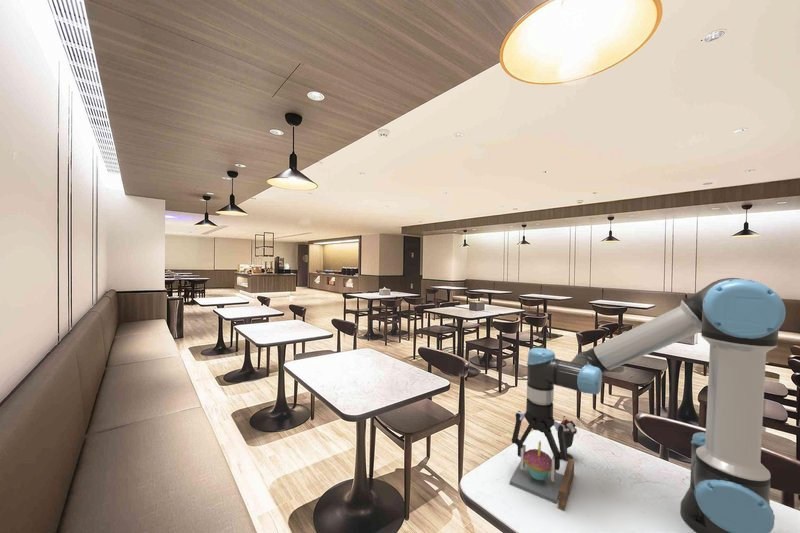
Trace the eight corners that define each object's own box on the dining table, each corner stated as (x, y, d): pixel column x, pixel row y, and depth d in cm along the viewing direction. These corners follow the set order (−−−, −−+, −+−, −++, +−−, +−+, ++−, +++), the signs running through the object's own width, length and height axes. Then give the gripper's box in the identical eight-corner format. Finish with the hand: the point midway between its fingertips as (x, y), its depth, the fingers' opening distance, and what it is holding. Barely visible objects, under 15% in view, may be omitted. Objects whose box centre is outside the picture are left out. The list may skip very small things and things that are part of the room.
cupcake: (556, 486, 94) (557, 446, 94) (525, 482, 96) (526, 442, 95) (548, 468, 102) (549, 431, 102) (520, 464, 104) (521, 427, 104)
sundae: (556, 460, 109) (557, 417, 109) (553, 449, 116) (554, 408, 115) (578, 464, 107) (579, 420, 107) (573, 453, 114) (574, 411, 113)
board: (564, 478, 101) (564, 475, 101) (556, 503, 90) (556, 500, 90) (521, 462, 108) (521, 459, 108) (509, 484, 98) (509, 480, 98)
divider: (573, 475, 102) (574, 459, 102) (564, 511, 87) (565, 493, 87) (568, 473, 103) (568, 457, 103) (558, 508, 88) (558, 490, 88)
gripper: (580, 404, 95) (577, 480, 96) (508, 387, 107) (507, 454, 108) (577, 414, 89) (574, 494, 90) (501, 395, 101) (499, 465, 102)
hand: (537, 472), depth 99 cm, fingers closed on cupcake, 8 cm apart
